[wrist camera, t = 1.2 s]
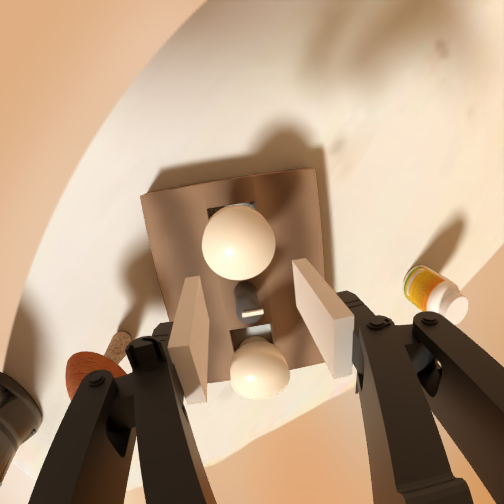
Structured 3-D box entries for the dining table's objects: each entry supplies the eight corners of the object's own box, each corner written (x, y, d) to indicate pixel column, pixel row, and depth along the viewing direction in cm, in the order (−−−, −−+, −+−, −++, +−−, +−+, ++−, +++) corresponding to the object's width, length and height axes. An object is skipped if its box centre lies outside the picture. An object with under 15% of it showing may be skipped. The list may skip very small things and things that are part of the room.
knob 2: (233, 372, 35) (236, 403, 30) (224, 331, 34) (225, 360, 28) (282, 364, 36) (291, 393, 30) (277, 322, 34) (287, 350, 29)
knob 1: (210, 264, 31) (209, 285, 26) (200, 206, 29) (195, 215, 24) (269, 254, 31) (279, 273, 26) (261, 196, 30) (270, 203, 24)
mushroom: (89, 306, 35) (37, 375, 21) (147, 310, 36) (114, 389, 22) (99, 356, 38) (62, 432, 23) (152, 361, 38) (131, 445, 24)
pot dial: (235, 303, 34) (238, 327, 29) (232, 283, 33) (234, 305, 28) (258, 299, 34) (265, 322, 29) (255, 279, 33) (261, 300, 28)
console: (191, 371, 39) (189, 385, 36) (146, 193, 32) (139, 196, 29) (320, 349, 40) (327, 361, 38) (307, 167, 33) (315, 168, 30)
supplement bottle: (396, 299, 40) (435, 332, 30) (407, 262, 38) (450, 289, 29) (424, 300, 40) (463, 330, 31) (434, 265, 39) (477, 291, 30)
